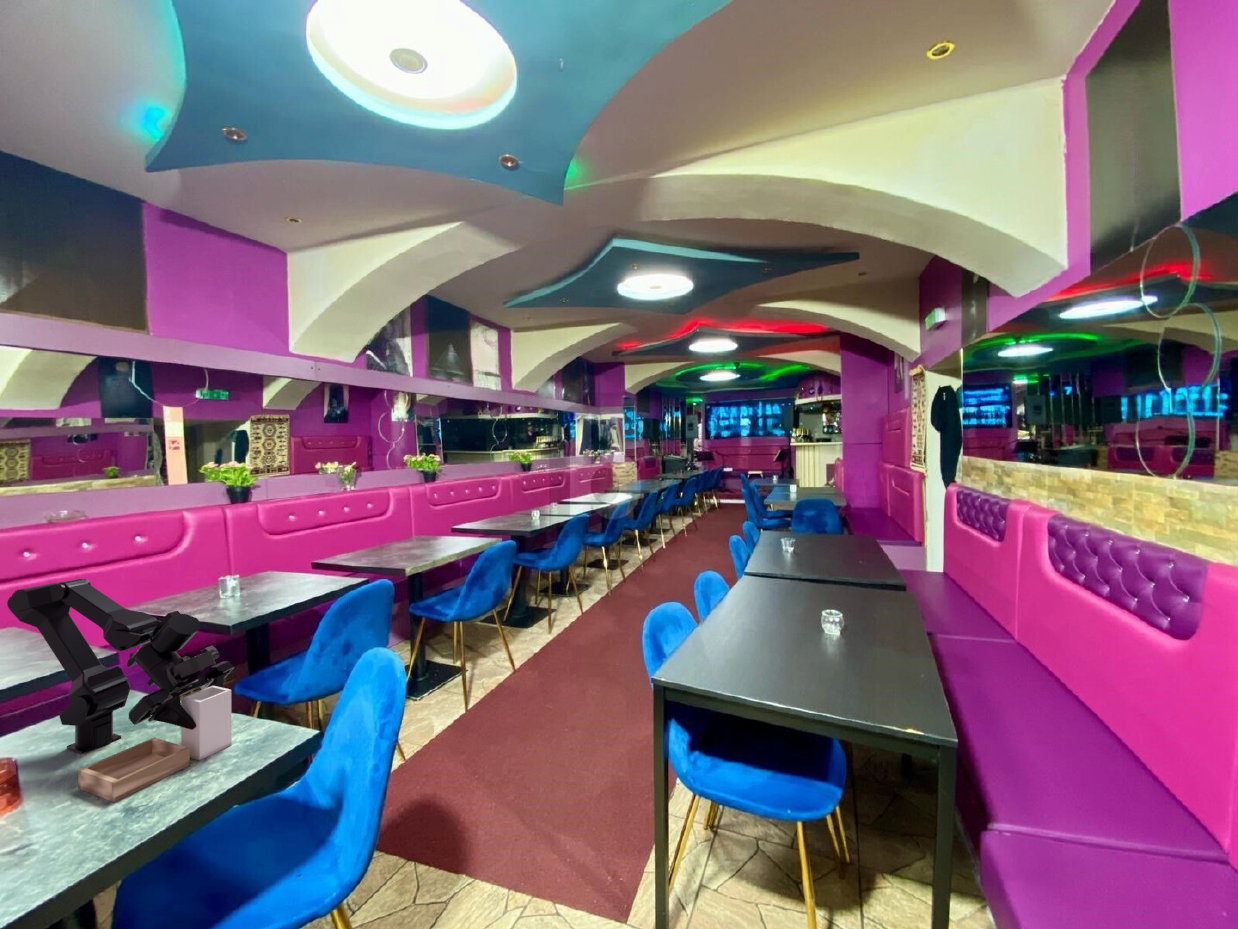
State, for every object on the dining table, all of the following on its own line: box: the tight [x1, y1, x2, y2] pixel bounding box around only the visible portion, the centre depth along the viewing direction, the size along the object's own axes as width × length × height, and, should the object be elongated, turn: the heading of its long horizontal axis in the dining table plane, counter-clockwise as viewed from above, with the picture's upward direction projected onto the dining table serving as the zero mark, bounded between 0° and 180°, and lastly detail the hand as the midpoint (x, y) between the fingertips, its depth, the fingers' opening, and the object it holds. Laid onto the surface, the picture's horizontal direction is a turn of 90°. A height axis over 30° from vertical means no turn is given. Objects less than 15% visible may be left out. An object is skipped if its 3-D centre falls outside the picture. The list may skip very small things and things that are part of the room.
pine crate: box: [77, 737, 191, 803], centre depth 95 cm, size 12×12×4 cm
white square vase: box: [180, 686, 233, 761], centre depth 104 cm, size 6×6×12 cm
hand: (210, 719), depth 104 cm, fingers closed on white square vase, 7 cm apart
